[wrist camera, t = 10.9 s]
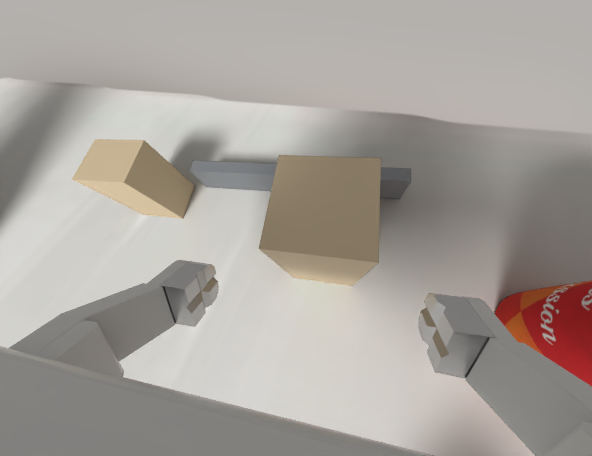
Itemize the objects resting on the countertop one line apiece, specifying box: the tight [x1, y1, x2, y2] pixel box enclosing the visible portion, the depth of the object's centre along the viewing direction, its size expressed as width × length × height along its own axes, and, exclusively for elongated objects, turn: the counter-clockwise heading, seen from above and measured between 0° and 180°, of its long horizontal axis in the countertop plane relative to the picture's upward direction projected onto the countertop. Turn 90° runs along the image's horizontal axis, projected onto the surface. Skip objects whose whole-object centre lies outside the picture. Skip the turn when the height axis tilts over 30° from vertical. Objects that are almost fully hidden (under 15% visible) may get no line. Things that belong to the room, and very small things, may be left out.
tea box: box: [72, 139, 194, 218], centre depth 20 cm, size 5×4×7 cm
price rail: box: [190, 161, 411, 199], centre depth 20 cm, size 20×1×3 cm, turn 82°
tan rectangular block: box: [259, 155, 381, 286], centre depth 14 cm, size 5×5×10 cm
